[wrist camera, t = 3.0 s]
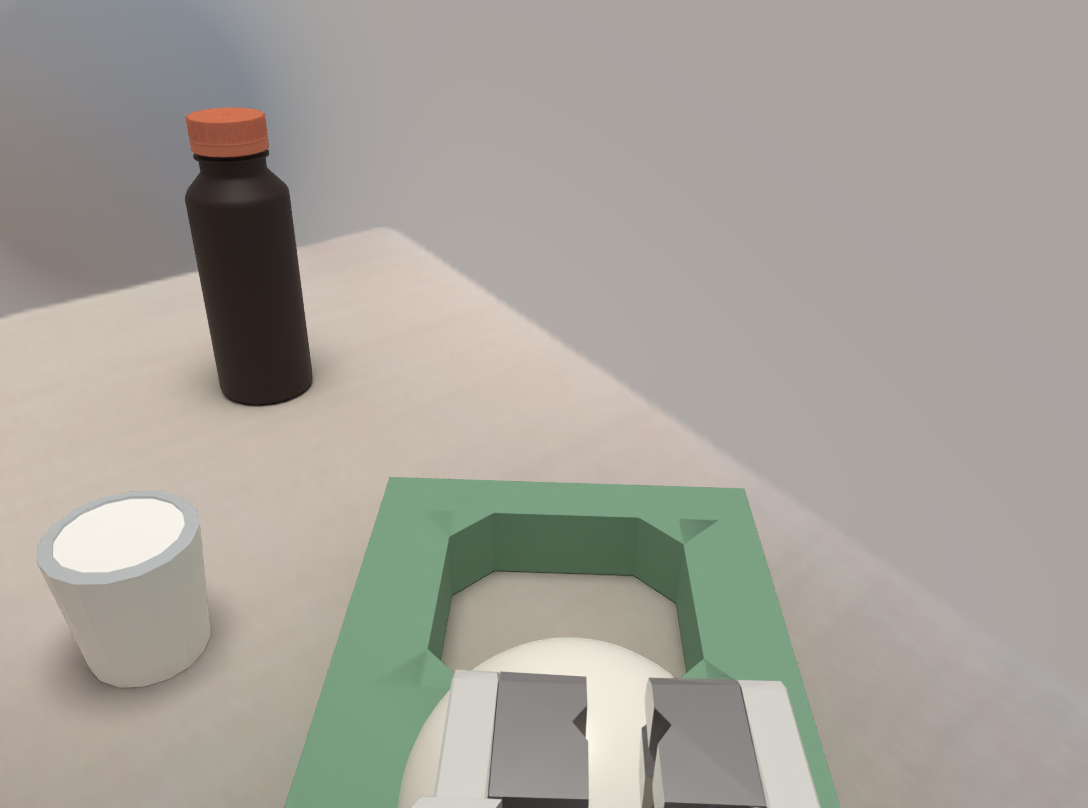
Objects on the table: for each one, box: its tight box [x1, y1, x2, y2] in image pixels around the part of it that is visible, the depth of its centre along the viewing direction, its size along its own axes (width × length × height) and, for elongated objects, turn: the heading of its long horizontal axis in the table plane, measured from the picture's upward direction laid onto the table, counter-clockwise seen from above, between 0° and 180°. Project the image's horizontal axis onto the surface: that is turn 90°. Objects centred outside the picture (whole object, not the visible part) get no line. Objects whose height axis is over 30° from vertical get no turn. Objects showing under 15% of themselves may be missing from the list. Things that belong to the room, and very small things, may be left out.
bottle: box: [185, 108, 312, 404], centre depth 61 cm, size 7×7×20 cm
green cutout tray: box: [284, 477, 841, 808], centre depth 36 cm, size 32×20×4 cm, turn 178°
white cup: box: [37, 491, 211, 688], centre depth 41 cm, size 7×7×7 cm
